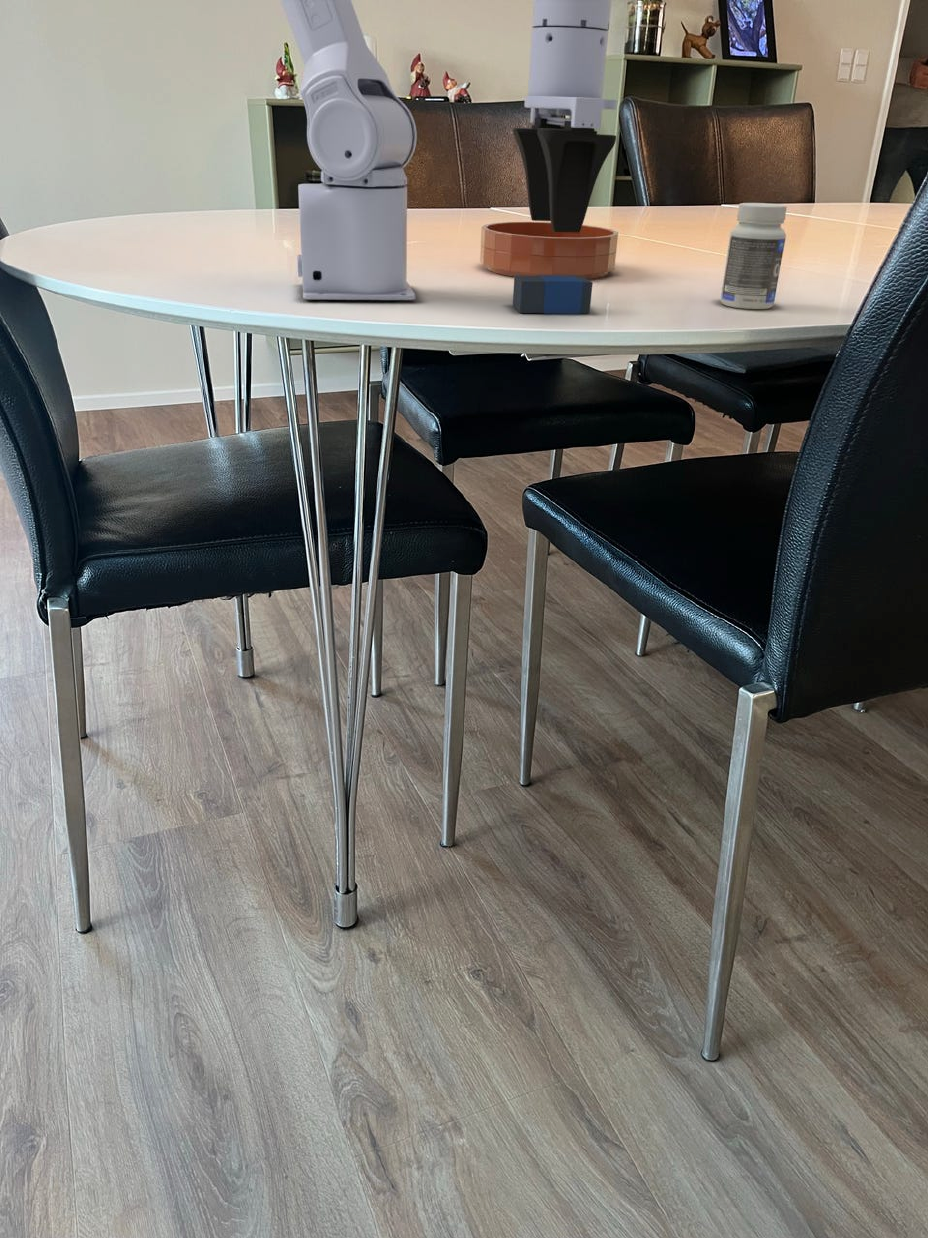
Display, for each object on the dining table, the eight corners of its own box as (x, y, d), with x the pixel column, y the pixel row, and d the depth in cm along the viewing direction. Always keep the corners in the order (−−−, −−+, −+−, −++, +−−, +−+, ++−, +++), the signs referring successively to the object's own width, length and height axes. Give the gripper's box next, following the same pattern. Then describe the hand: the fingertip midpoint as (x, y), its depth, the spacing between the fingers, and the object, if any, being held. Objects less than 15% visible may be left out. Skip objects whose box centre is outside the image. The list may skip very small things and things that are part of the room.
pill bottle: (779, 310, 84) (798, 207, 80) (726, 308, 84) (742, 205, 80) (765, 301, 89) (783, 202, 85) (714, 299, 89) (729, 200, 85)
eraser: (519, 313, 79) (521, 280, 78) (512, 306, 82) (514, 274, 81) (589, 314, 80) (592, 281, 79) (580, 306, 83) (583, 275, 82)
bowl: (493, 280, 94) (495, 236, 92) (470, 259, 106) (472, 220, 104) (631, 281, 96) (635, 239, 94) (593, 261, 108) (596, 222, 106)
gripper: (652, 27, 66) (628, 238, 72) (595, 37, 78) (579, 217, 85) (553, 21, 65) (537, 236, 71) (510, 33, 77) (500, 214, 84)
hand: (554, 225), depth 78 cm, fingers open, 7 cm apart
